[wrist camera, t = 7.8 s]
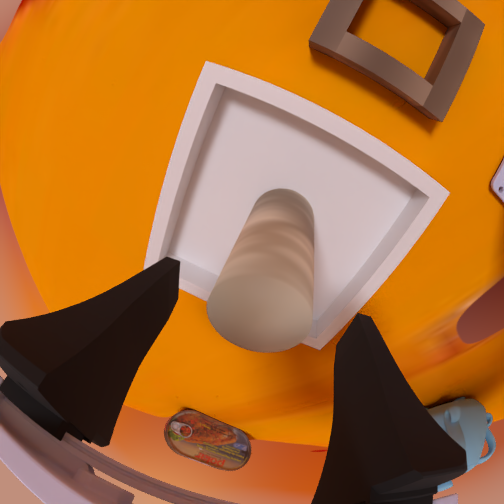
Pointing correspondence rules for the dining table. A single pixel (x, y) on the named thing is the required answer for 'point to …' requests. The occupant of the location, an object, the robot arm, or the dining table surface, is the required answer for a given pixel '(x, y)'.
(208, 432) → the tin
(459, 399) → the decorative pot
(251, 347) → the dowel
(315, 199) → the tray
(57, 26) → the dining table surface
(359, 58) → the frame
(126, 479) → the robot arm
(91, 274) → the dining table surface
